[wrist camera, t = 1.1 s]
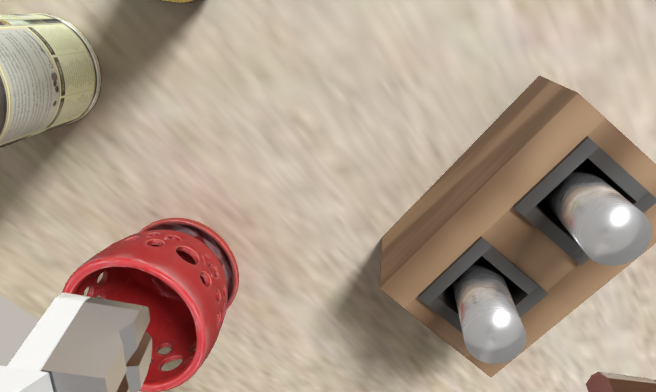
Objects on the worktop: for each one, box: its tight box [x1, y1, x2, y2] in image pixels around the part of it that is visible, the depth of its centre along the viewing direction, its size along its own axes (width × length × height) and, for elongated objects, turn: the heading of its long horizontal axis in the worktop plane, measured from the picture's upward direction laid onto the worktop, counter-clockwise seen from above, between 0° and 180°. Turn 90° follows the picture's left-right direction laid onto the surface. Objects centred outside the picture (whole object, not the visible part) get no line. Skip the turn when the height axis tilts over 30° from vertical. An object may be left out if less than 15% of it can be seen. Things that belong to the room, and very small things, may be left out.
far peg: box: [452, 256, 526, 364], centre depth 40 cm, size 4×4×10 cm
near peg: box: [543, 163, 652, 266], centre depth 37 cm, size 4×4×10 cm
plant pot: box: [62, 218, 239, 392], centre depth 49 cm, size 13×13×12 cm
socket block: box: [380, 76, 656, 377], centre depth 44 cm, size 12×20×10 cm, turn 141°
